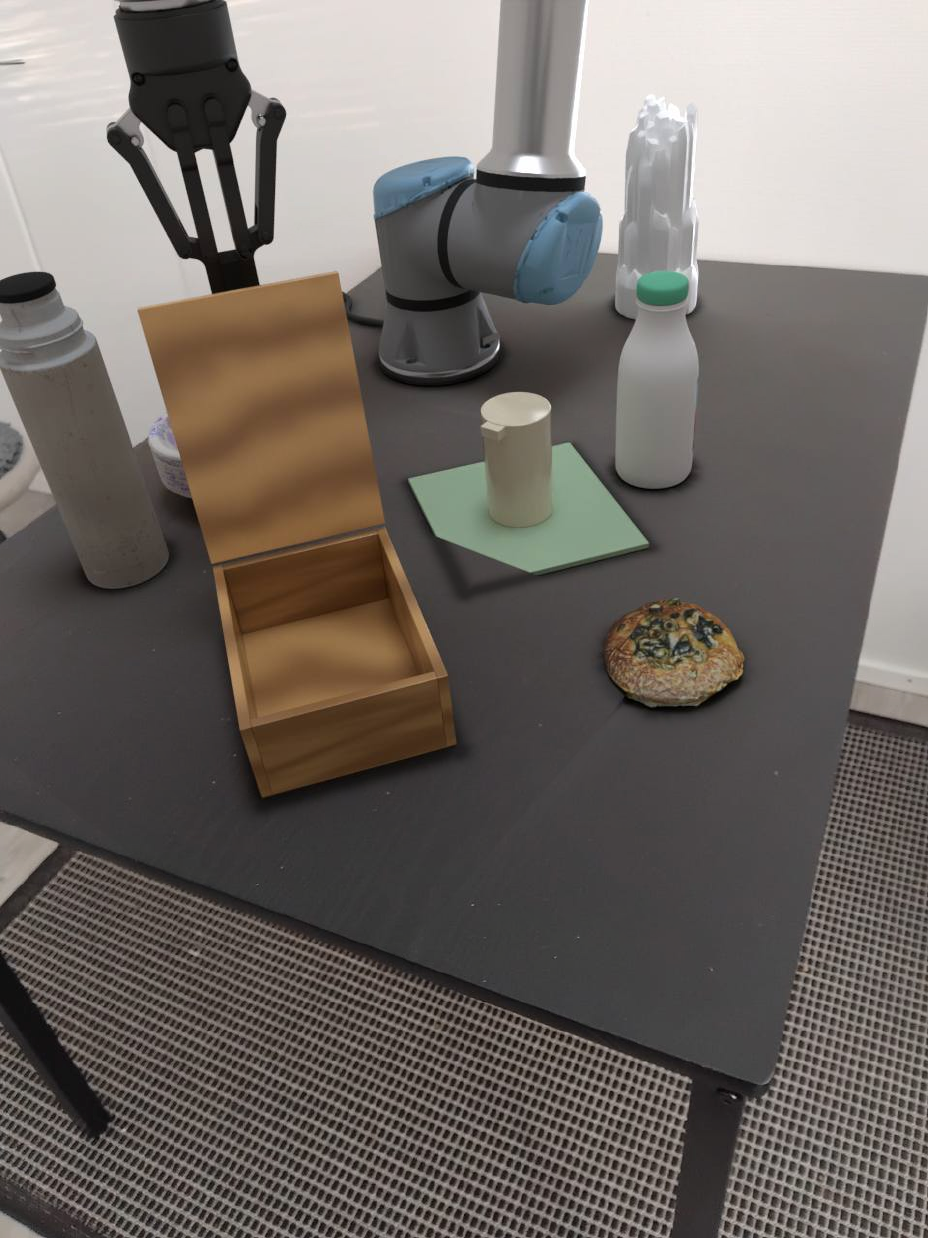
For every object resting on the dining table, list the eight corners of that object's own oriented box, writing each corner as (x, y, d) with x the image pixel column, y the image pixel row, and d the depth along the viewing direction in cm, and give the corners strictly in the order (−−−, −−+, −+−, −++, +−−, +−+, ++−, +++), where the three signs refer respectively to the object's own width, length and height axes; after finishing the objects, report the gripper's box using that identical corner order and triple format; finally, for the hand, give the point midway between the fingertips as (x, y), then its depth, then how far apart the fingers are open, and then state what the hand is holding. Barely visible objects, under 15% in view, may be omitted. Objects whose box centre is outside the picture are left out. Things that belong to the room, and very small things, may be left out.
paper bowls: (179, 456, 110) (159, 392, 105) (313, 442, 110) (300, 377, 105) (156, 533, 99) (133, 465, 94) (306, 517, 99) (291, 448, 94)
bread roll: (632, 602, 84) (641, 559, 80) (756, 652, 80) (771, 609, 77) (575, 687, 77) (582, 644, 74) (708, 746, 74) (722, 704, 70)
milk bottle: (690, 492, 97) (706, 295, 84) (611, 489, 98) (615, 295, 85) (692, 452, 102) (707, 262, 90) (618, 450, 104) (622, 262, 91)
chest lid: (338, 272, 72) (328, 261, 76) (137, 309, 69) (138, 296, 74) (385, 523, 82) (373, 501, 86) (211, 564, 80) (208, 539, 84)
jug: (523, 540, 92) (518, 436, 85) (469, 520, 95) (460, 419, 88) (577, 493, 97) (576, 392, 90) (524, 475, 100) (519, 377, 93)
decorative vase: (702, 318, 127) (718, 106, 111) (619, 323, 128) (624, 114, 112) (688, 286, 136) (702, 85, 120) (610, 291, 136) (614, 92, 120)
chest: (457, 751, 73) (448, 675, 68) (264, 805, 71) (239, 730, 66) (396, 597, 88) (384, 526, 83) (234, 637, 85) (212, 566, 80)
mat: (408, 483, 102) (407, 478, 102) (569, 446, 105) (569, 441, 105) (462, 594, 87) (462, 589, 87) (648, 548, 90) (649, 542, 90)
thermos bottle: (117, 535, 99) (13, 259, 81) (184, 545, 97) (93, 263, 79) (69, 582, 93) (-54, 297, 75) (139, 594, 91) (29, 303, 73)
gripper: (66, 20, 61) (169, 370, 76) (272, -8, 63) (332, 338, 78) (68, 4, 67) (163, 333, 82) (258, -21, 69) (316, 304, 84)
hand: (246, 335), depth 80 cm, fingers closed
